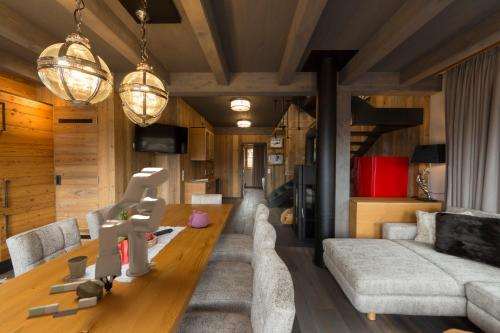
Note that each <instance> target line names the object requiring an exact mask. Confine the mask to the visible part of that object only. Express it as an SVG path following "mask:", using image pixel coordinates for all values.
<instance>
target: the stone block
mask: <svg viewBox="0 0 500 333" xmlns="http://www.w3.org/2000/svg"><path fill="white" fill-rule="evenodd" d="M91 280H92V279H90V280H89V279H88V280H85V281H86V282H84V283H81V284H79V286H78V287H77V290H75V291H76V292H75V295H76V296H77V297H79V298H80V299H85V298H91V297H97V301H98V300H99V299H100V298H103V296H104V286H100V285H99V284H97V283H95V282H92V281H91Z"/></svg>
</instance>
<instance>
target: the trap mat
mask: <svg viewBox="0 0 500 333" xmlns="http://www.w3.org/2000/svg"><path fill="white" fill-rule="evenodd" d="M80 309H81V308H79V307H77V308H70V309H67V310H66V309H65V310H59V311H58V312H54V314H53V315H52V318H53V319H56V318H62V317H68V316H73V315H74V316H75V315H77V314H78V312H79V310H80Z"/></svg>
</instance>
